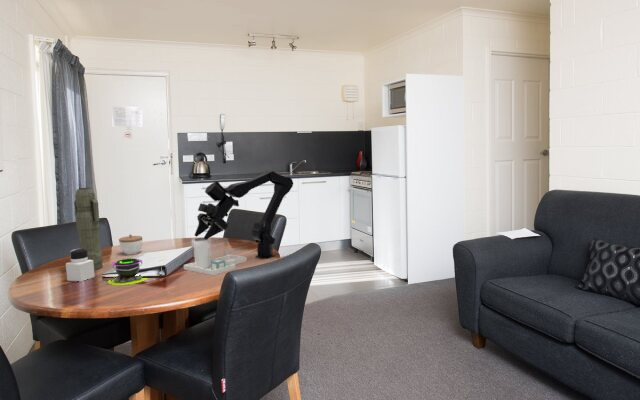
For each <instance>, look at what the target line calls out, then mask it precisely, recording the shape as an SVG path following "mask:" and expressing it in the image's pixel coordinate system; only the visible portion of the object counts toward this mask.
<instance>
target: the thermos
mask: <svg viewBox="0 0 640 400" xmlns="http://www.w3.org/2000/svg"><path fill="white" fill-rule="evenodd" d="M74 195H75V200H74V202H73V203H74V205H73V206H74V214H75V215H74V216H75V225H76V230H77V233H78V241H79V244H78V245H79V249H86V250H87V255H88V259H87V260H93V264H94V271H97V269H98V270H101V269H102V267H104V266H103V251H102V250H101V243H100V241H101V239H100V230H99V229H100V216H99V215H100V213H99V201H98V200H97V199H96V193H95V191H94V189H93V188H91V187H79V188H78V189H76V192H75V194H74ZM100 268H101V269H100Z"/></svg>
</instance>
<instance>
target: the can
mask: <svg viewBox="0 0 640 400" xmlns="http://www.w3.org/2000/svg"><path fill="white" fill-rule="evenodd" d="M193 252H194V262H195V267H199V268H204V269H206V268H209V267H210V266H211V260H212V259H211V243H210V240H209V238H208V239H206V240H205V239H204V237H199V238H197V237H196V238H195V239H194V243H193Z"/></svg>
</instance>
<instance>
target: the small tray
mask: <svg viewBox="0 0 640 400" xmlns="http://www.w3.org/2000/svg"><path fill="white" fill-rule="evenodd" d="M218 259H220V260H225V262H227V263H233V264H236V265H238V264H242V263H245V262H247V261H248V259H247V256H242V255H237V254H236V255H235V254H227V255H224V256H219V257H216V258H213V259H212V260H218Z"/></svg>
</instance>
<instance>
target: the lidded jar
mask: <svg viewBox="0 0 640 400" xmlns="http://www.w3.org/2000/svg"><path fill="white" fill-rule="evenodd" d="M118 242H119V243H118V244H119V248H120V250H121V252H122V253H125V254H124V255H126V256H131V255H134V254H136V255H138V254H139V252H140V251H141V250H142V247H143V236H142V235H132V234H129V235H128V236H123V237H121V238H118ZM127 251H128V252H127ZM131 252H132V253H131Z"/></svg>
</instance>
